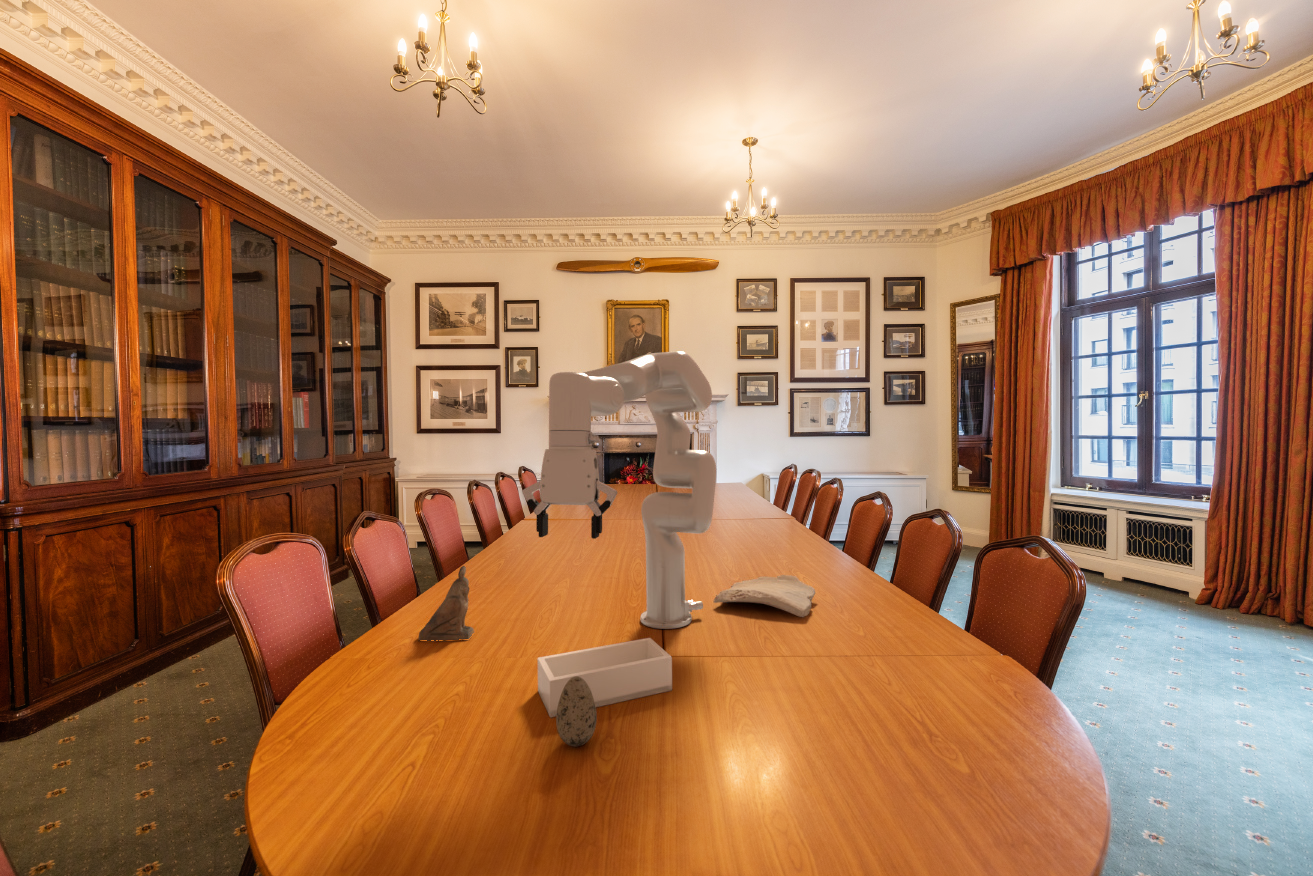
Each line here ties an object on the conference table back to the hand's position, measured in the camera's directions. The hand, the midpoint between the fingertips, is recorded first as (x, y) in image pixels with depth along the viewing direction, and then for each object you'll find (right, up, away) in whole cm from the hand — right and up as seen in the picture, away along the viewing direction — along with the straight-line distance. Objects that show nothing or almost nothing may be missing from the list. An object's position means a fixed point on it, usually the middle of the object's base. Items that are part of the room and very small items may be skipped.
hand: (569, 536), depth 96 cm
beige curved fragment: (+46, -28, +48) cm, 72 cm away
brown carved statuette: (-33, -28, +27) cm, 51 cm away
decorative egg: (+4, -28, -16) cm, 33 cm away
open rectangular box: (+6, -28, 0) cm, 28 cm away
